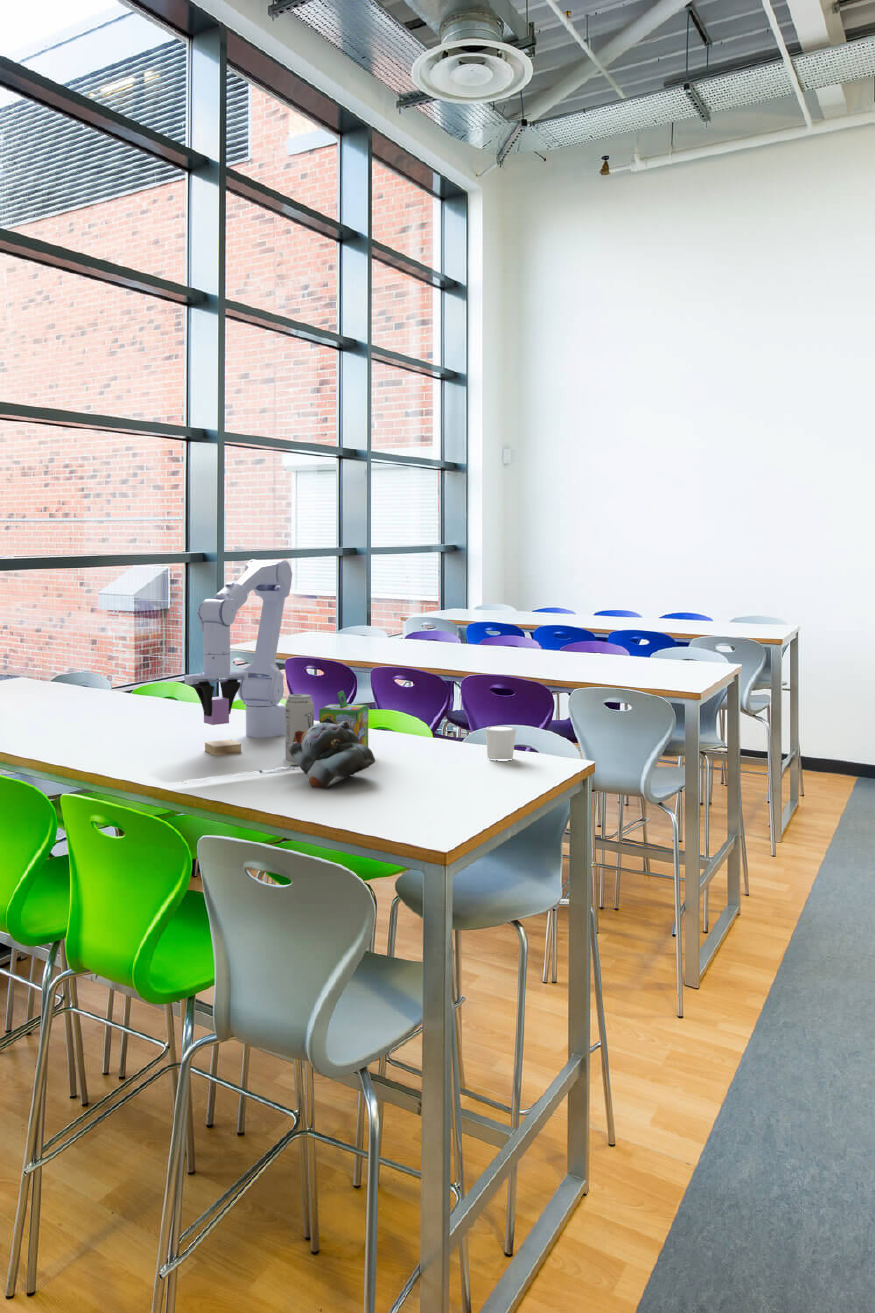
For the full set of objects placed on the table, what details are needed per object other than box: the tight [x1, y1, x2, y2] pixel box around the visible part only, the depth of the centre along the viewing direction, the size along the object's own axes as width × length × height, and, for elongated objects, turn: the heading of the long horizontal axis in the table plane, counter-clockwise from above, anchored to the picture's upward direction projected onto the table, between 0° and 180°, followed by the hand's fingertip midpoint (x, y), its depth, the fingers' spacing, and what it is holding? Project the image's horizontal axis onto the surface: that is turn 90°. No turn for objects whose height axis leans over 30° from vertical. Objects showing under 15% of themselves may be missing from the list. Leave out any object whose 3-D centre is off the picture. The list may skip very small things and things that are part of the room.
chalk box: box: [319, 690, 369, 748], centre depth 201 cm, size 9×9×15 cm
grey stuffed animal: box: [288, 718, 376, 790], centre depth 179 cm, size 15×12×14 cm
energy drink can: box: [284, 693, 315, 768], centre depth 192 cm, size 6×6×15 cm
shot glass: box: [485, 725, 517, 760], centre depth 202 cm, size 7×7×7 cm
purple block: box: [203, 696, 230, 726], centre depth 199 cm, size 4×4×6 cm
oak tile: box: [204, 739, 242, 757], centre depth 198 cm, size 6×6×2 cm
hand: (217, 714), depth 199 cm, fingers closed on purple block, 4 cm apart
